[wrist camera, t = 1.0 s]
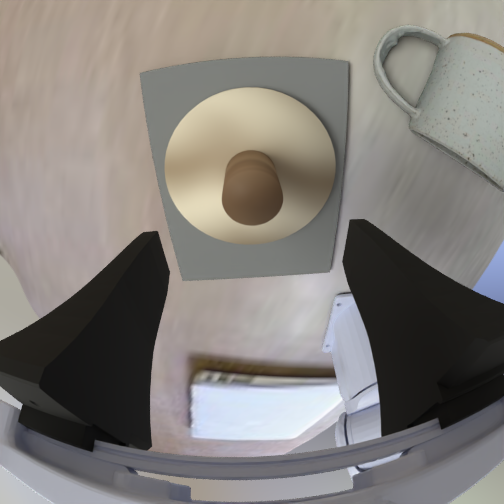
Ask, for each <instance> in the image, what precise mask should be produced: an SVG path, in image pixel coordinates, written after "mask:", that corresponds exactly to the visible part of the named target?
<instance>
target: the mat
mask: <svg viewBox="0 0 504 504" xmlns="http://www.w3.org/2000/svg"><path fill="white" fill-rule="evenodd" d="M140 80H141V88H142V95H143V102H144V109H145V115H146V122H147V128H148V133H149V139H150V145H151V150H152V155H153V160H154V166H155V170H156V175H157V180H158V185H159V189H160V194H161V198H162V203H163V207H164V211H165V216H166V220H167V224H168V228H169V232H170V236H171V240H172V243H173V247H174V251H175V255H176V258H177V262H178V266H179V269H180V273H181V276H182V280H183V281H192V280H214V279H234V278H252V277H269V276H284V275H299V274H313V273H327V272H330V267H331V261H332V255H333V249H334V242H335V236H336V229H337V221H338V214H339V206H340V197H341V188H342V179H343V168H344V157H345V144H346V128H347V108H348V61H342V60H332V59H321V58H304V57H250V58H233V59H221V60H212V61H203V62H196V63H189V64H183V65H177V66H171V67H166V68H161V69H156V70H151V71H147V72H143V73H140ZM242 87H260V88H267V89H271V90H275V91H278V92H281V93H284V94H286V95H288V96H290V97H292V98H294V99H296V100H297V101H299V102H300V103H302V104H303V105H305V106H306V107H307V108H308V109H309V110H311V111H312V112H313V113H314V114H315V115H316V117H317V118H318V119H319V120H320V121H321V123H322V124H323V126H324V127H325V129H326V130H327V132H328V135H329V137H330V139H331V142H332V145H333V149H334V153H335V161H336V169H335V178H334V183H333V186H332V190H331V192H330V195H329V197H328V199H327V201H326V203H325V204H324V206H323V207H322V209H321V210H320V211H319V213H318V214H317V215H316V216H315V217H314V218H313V219H312V220H311V221H310V222H309V223H308V224H307V225H305V226H304V227H303V228H301V229H300V230H298V231H297V232H295V233H293V234H291V235H289V236H287V237H285V238H282V239H279V240H276V241H273V242H268V243H263V244H249V245H244V244H235V243H230V242H225V241H222V240H219V239H216V238H214V237H211V236H209V235H207V234H205V233H204V232H202V231H200V230H199V229H197V228H196V227H195V226H193V225H192V224H191V223H190V222H189V221H188V220H187V219H186V218H185V217H184V216H183V215H182V214H181V213H180V211H179V210H178V209H177V207H176V205H175V204H174V202H173V200H172V198H171V196H170V194H169V191H168V188H167V184H166V179H165V156H166V150H167V147H168V144H169V141H170V139H171V136H172V134H173V132H174V130H175V129H176V127H177V126H178V124H179V123H180V121H181V120H182V119H183V118H184V117H185V116H186V115H187V114H188V112H190V111H191V110H192V109H193V108H194V107H196V106H197V105H198V104H199V103H201V102H202V101H204V100H205V99H207V98H209V97H210V96H213V95H215V94H217V93H220V92H222V91H226V90H230V89H234V88H242Z"/></svg>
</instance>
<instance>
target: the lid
mask: <svg viewBox="0 0 504 504" xmlns="http://www.w3.org/2000/svg"><path fill="white" fill-rule="evenodd" d="M335 169H336V161H335V153H334V149H333V145H332V142H331V139H330V137H329V135H328V132H327V130H326V129H325V127H324V126H323V124H322V123H321V121H320V120H319V119H318V118H317V117H316V115H315V114H314V113H313V112H312V111H311V110H309V109H308V108H307V107H306V106H305V105H303V104H302V103H300V102H299V101H297V100H296V99H294V98H292V97H290V96H288V95H286V94H284V93H281V92H278V91H275V90H271V89H267V88H260V87H242V88H234V89H230V90H226V91H222V92H220V93H217V94H215V95H213V96H210V97H209V98H207V99H205V100H204V101H202V102H201V103H199V104H198V105H197V106H196V107H194V108H193V109H192V110H191V111H190V112H188V114H187V115H186V116H185V117H184V118H183V119H182V120H181V121H180V123H179V124H178V126H177V127H176V129H175V130H174V132H173V134H172V136H171V139H170V141H169V144H168V147H167V150H166V156H165V179H166V184H167V188H168V191H169V194H170V196H171V198H172V200H173V202H174V204H175V205H176V207H177V209H178V210H179V211H180V213H181V214H182V215H183V216H184V217H185V218H186V219H187V220H188V221H189V222H190V223H191V224H192V225H193V226H195V227H196V228H197V229H199V230H200V231H202V232H204V233H205V234H207V235H209V236H211V237H214V238H216V239H219V240H222V241H225V242H230V243H235V244H244V245H249V244H263V243H268V242H273V241H276V240H279V239H282V238H285V237H287V236H289V235H291V234H293V233H295V232H297V231H298V230H300V229H301V228H303V227H304V226H305V225H307V224H308V223H309V222H310V221H311V220H312V219H313V218H314V217H315V216H316V215H317V214H318V213H319V211H320V210H321V209H322V207H323V206H324V204H325V203H326V201H327V199H328V197H329V195H330V192H331V190H332V186H333V183H334V178H335Z"/></svg>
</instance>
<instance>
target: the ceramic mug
mask: <svg viewBox="0 0 504 504" xmlns="http://www.w3.org/2000/svg"><path fill="white" fill-rule="evenodd" d="M401 36H415V37H417V38H422V39H424V40H427V41H429V42H431V43H433V44H435V45H437V46H438V47H439V51H438V54H437V57H436V59H435V63H434V67H433V70H432V73H431V75H430V77H429V80H428V82H427V84H426V86H425V88H424V90H423V93H422V95H421V97H420V99H419V101H418V104H417V106H416V108H414V107H412V106H411V105H409V104H408V103H407V102H406V101H405V100H404V99H403V98H402V97H401V96H400V95H399V94H398V93H397V92H396V91H395V90H394V88H393V87H392V86H391V84H390V82H389V80H388V78H387V76H386V73H385V71H384V69H383V67H382V64H383V62H384V60H385V57H386V56H387V54H388V52H389V51H390V49H391V48H392V47H393V46H394V45H397V43H398V39H399V38H400V37H401ZM373 63H374V72H375V76H376V78H377V80H378V82H379V84H380V86H381V87H382V89H383V90H384V92H385V93H386V94H387V95H388V97H389V98H391V99H392V100H393V101H394V102H395V103H396V104H397V105H398V106H399V107H400V108H401V109H403V110H404V111H405V112H407V113H408V114H409V115H410V116H411V120H410V123H409V129H410V130H411V131H412V132H413V133H415V134H416V135H417V136H419V137H421V138H422V139H424V140H425V141H426V142H428V143H430V144H431V145H433V146H434V147H436V148H437V149H439V150H441V151H442V152H443V153H445V154H447V155H448V156H450V157H451V158H453V159H454V160H456V161H457V162H459V163H460V164H462V165H463V166H464V167H466V168H468V169H470V170H471V171H472V172H474V173H475V174H477V175H479V176H480V177H481V178H483V179H484V180H486V181H487V182H489V183H490V184H492V185H493V186H495V187H496V188H498V189H499V190H500V191H502V192H504V47H502V46H501V45H499V44H497V43H496V42H494V41H492V40H490V39H487V38H485V37H482V36H479V35H476V34H471V33H457V34H453V35H451V36H449V37H448V38H447V39H445V38H443V37H442V36H441V35H439V34H437V33H435V32H434V31H432V30H429V29H427V28H424V27H420V26H415V25H404V26H399V27H396V28H393V29H391V30H389V31H388V32H387V33H386V34H385V35H384V36H383V37H382V39H381V40H380V41H379V43H378V45H377V48H376V50H375V54H374V60H373Z"/></svg>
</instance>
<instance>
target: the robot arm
mask: <svg viewBox="0 0 504 504" xmlns="http://www.w3.org/2000/svg"><path fill="white" fill-rule="evenodd" d="M342 262H343V266H344V270H345V274H346V278H347V282H348V285H349V287H350V290H351V293H350V294H341V295H337V296H336V297H335V299H334V303H333V307H332V311H331V315H330V319H329V323H328V327H327V331H326V335H325V339H324V343H323V346H322V352H324V353H327V352H331V355H332V359H333V364H334V368H335V373H336V377H337V382H338V386H339V391H340V394H341V397H342V399H343V400H344V401H345V403H344V404H345V409H346V412H343V413H342V414H341V415H340V417H339V420H338V422H337V424H336V430H335V438H336V445H337V448H331V449H325V450H320V451H313V452H305V453H298V454H288V455H277V456H261V457H203V456H188V455H177V454H168V453H160V452H153V451H147V450H148V449H150V448H151V447H152V441H151V427H150V385H151V370H152V359H153V351H154V345H155V340H156V336H157V332H158V328H159V324H160V320H161V316H162V312H163V308H164V304H165V300H166V296H167V291H168V284H169V275H170V271H169V268H168V264H167V261H166V258H165V254H164V251H163V248H162V244H161V241H160V237H159V234H158V231H152V232H143V233H142V234H140V235H139V236H138V237H137V238H136V239H135V240H133V241H132V242H131V243H130V244H129V245H128V246H127V247H126V248H125V249H124V250H123V251H122V252H121V253H120V254H119V255H118V256H117V257H116V258H115V259H114V260H112V261H111V262H110V263H109V264H108V265H107V266H106V267H105V268H104V269H103V270H102V271H101V272H100V273H99V274H97V275H96V276H95V277H94V278H93V279H92V280H91V281H90V282H89V283H88V284H86V285H85V286H84V287H83V288H82V289H81V290H79V291H78V292H77V293H76V294H74V295H73V296H72V297H71V298H69V299H68V300H67V301H65V302H64V303H63V304H61V305H60V306H58V307H57V308H56V309H54V310H53V311H51V312H50V313H49V314H47V315H46V316H44V317H43V318H41V319H39V320H38V321H36V322H35V323H33V324H31V325H30V326H28V327H26V328H24V329H23V330H21V331H19V332H17V333H15V334H13V335H11V336H9V337H7V338H5V339H3V340H1V341H0V386H1V387H2V388H3V389H4V390H5V391H7V392H8V393H9V394H10V395H12V396H13V397H14V398H16V399H17V400H18V401H19V402H21V403H22V404H23V405H22V409H21V410H20V409H18V408H16V407H14V406H12V405H10V404H8V403H6V402H4V401H2V400H0V466H1V467H2V468H4V469H5V470H6V471H8V472H9V473H10V474H12V475H13V476H14V477H15V478H17V479H18V480H19V481H21V482H22V483H23V484H25V485H26V486H28V487H29V488H30V489H31V490H33V491H34V492H36V493H37V494H39V495H40V496H41V497H43V498H44V499H46V500H48V501H49V502H51V503H52V504H449V503H450V502H452V501H453V500H455V499H456V498H458V497H459V496H461V495H462V494H463V493H465V492H466V491H468V490H469V489H470V488H472V487H473V486H474V485H475V484H477V483H478V482H479V481H480V480H482V479H483V478H484V477H485V476H487V475H488V474H489V473H490V472H491V471H492V470H493V469H495V468H496V467H497V466H498V465H499V464H500V463H501V462H502V461H503V460H504V375H503V374H504V304H503V303H500V302H498V301H495V300H493V299H490V298H488V297H486V296H484V295H481V294H479V293H477V292H475V291H473V290H471V289H469V288H467V287H465V286H463V285H461V284H460V283H458V282H456V281H454V280H452V279H451V278H449V277H447V276H445V275H444V274H442V273H441V272H439V271H437V270H436V269H434V268H433V267H431V266H430V265H428V264H427V263H425V262H424V261H422V260H421V259H419V258H418V257H417V256H415V255H414V254H412V253H411V252H410V251H408V250H407V249H405V248H404V247H403V246H401V245H400V244H399V243H397V242H396V241H395V240H393V239H392V238H391V237H389V236H388V235H387V234H385V233H384V232H383V231H381V230H380V229H379V228H377V227H376V226H374V225H373V224H371V223H370V222H368V221H367V220H365V219H352V220H350V221H349V228H348V233H347V239H346V245H345V250H344V256H343V261H342ZM344 468H347V470H348V472H349V474H350V476H351V479H352V482H353V489H349V490H345V491H340V492H335V493H330V494H325V495H319V496H312V497H305V498H297V499H289V500H277V501H260V502H217V501H201V500H192V499H191V497H190V496H191V488H190V487H189V486H185V485H179V484H174V483H170V482H169V481H165V480H159V479H154V478H149V477H144V476H140V475H138V473H137V472H136V471H135V470H138V471H144V472H149V473H155V474H161V475H168V476H176V477H185V478H196V479H213V480H215V479H216V480H260V479H274V478H275V479H276V478H287V477H296V476H305V475H312V474H318V473H324V472H330V471H335V470H340V469H344Z"/></svg>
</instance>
